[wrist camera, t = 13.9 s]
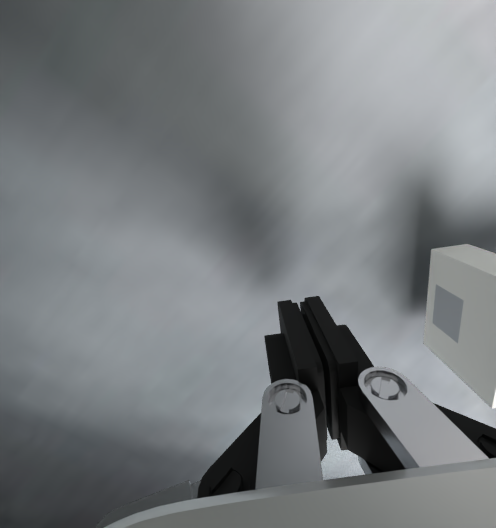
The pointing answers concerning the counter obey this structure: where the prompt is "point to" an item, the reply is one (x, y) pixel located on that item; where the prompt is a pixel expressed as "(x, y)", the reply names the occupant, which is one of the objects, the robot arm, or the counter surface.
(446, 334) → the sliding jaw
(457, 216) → the counter surface
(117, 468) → the counter surface
